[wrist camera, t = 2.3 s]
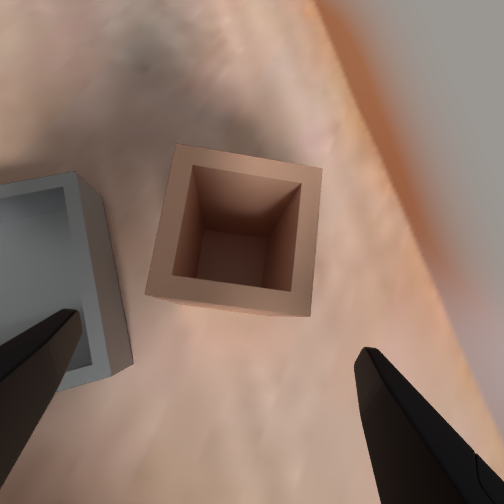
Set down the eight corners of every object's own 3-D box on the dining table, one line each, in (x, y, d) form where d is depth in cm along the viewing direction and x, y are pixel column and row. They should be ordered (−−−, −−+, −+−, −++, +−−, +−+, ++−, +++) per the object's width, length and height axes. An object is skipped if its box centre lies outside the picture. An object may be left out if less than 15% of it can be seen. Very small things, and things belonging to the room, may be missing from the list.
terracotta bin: (267, 316, 21) (310, 316, 11) (180, 304, 20) (144, 294, 11) (277, 233, 22) (322, 168, 12) (195, 221, 22) (175, 143, 12)
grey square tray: (133, 363, 19) (111, 376, 15) (-71, 422, 17) (-154, 452, 13) (102, 197, 21) (75, 171, 17) (-83, 234, 19) (-159, 214, 16)
